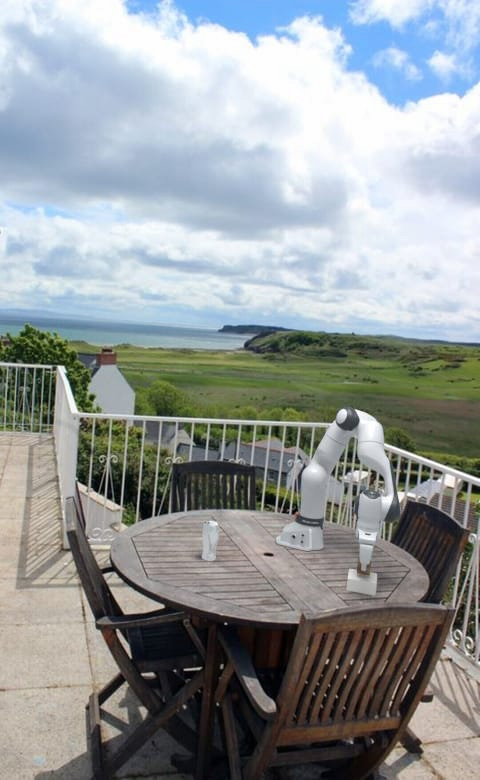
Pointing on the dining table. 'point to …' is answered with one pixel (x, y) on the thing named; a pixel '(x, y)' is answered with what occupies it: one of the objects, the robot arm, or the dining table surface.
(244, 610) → the dining table surface
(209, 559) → the white cylinder
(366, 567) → the walnut cube
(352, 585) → the base block
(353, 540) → the dining table surface
